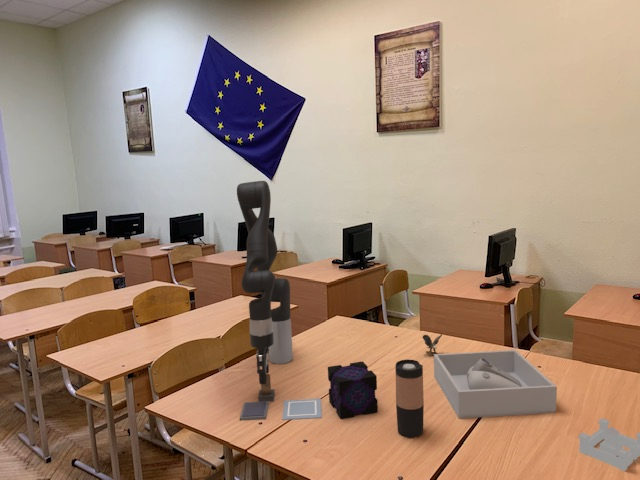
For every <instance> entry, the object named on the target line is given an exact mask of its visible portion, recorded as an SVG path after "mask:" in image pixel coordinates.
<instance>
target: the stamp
mask: <svg viewBox="0 0 640 480" xmlns="http://www.w3.org/2000/svg"><path fill="white" fill-rule="evenodd" d="M266 381H267V382H266V384H260V389H259V391H258V396H257V399H258V401H257V402H260V401H269V402H270V403H271V402H274V401H275V398H276V397H275V396H276V393H275V391H276V390H275V389H274V388H272V385H271V384H272V383H271V374H269V373H266Z"/></svg>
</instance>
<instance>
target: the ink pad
mask: <svg viewBox="0 0 640 480" xmlns="http://www.w3.org/2000/svg"><path fill="white" fill-rule="evenodd" d="M269 404H270V403H269V401H260V402H258V401H248V402H247V401H245V402H243V405H242V407H241V408H242V409H241V412H240V416H239V421H253V420H254V421H255V420H256V421H257V420H258V421H259V420H266V419H267V418H268V417H267V415H268V409H269Z"/></svg>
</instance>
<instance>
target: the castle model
mask: <svg viewBox="0 0 640 480" xmlns="http://www.w3.org/2000/svg"><path fill="white" fill-rule="evenodd" d="M598 424H599V429H598V430H597V431H595V432H594V433H593V434H591V435H589V434H587V433H584V432H581V433H580V434H578V439H579V446H578V448H579V449H578V452H579V453H581V454H583V455H587V456H589V457H591V458H593V459H596V460H598V461H600V462H603V463H605V464H606V465H607V464H608V465H610V466H612V467H614V468H617V469H618V470H620V471H622V472H625V471H627V469H628V467H629V466H631V464H633V463H634V461H636V460H638V461H640V459H639V457H640V431H639V432H637V434H636V438H633V437H630V436H627V435H625V434H623V433H622V434H621V433H620V431H619V430H617V429H616V428H614V427H613V426H611V427H609V424H610V420H608V419H606V418H603V417H602V418H599V419H598ZM602 440H603V441H602ZM598 443H599V448H596V447H595V446H596V445H598ZM625 446H626V447H627V448H626V447H625ZM623 447H625V448H626V449H625V448H623ZM628 448H629V449H628ZM627 449H628V450H627ZM637 457H638V458H637ZM636 464H637V465H638V462H636Z"/></svg>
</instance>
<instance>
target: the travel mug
mask: <svg viewBox="0 0 640 480" xmlns="http://www.w3.org/2000/svg"><path fill="white" fill-rule="evenodd" d="M423 366H424V365H423V364H420V362H419V361H418V360H415V359H402V360H399V361H397V362H396V363H395V365H394V367H395V406H396V424H397V426H396V427H397V432H398V434H399V436H401V435H402V437H403V436H404V438H406V437H407V439H416V438H415V437H417V438H420V437H421V436H422V435H423V434H424V406H425V405H424V402H425V401H424V372H423V371H424V369H423V368H424V367H423ZM419 436H420V437H419Z"/></svg>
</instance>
